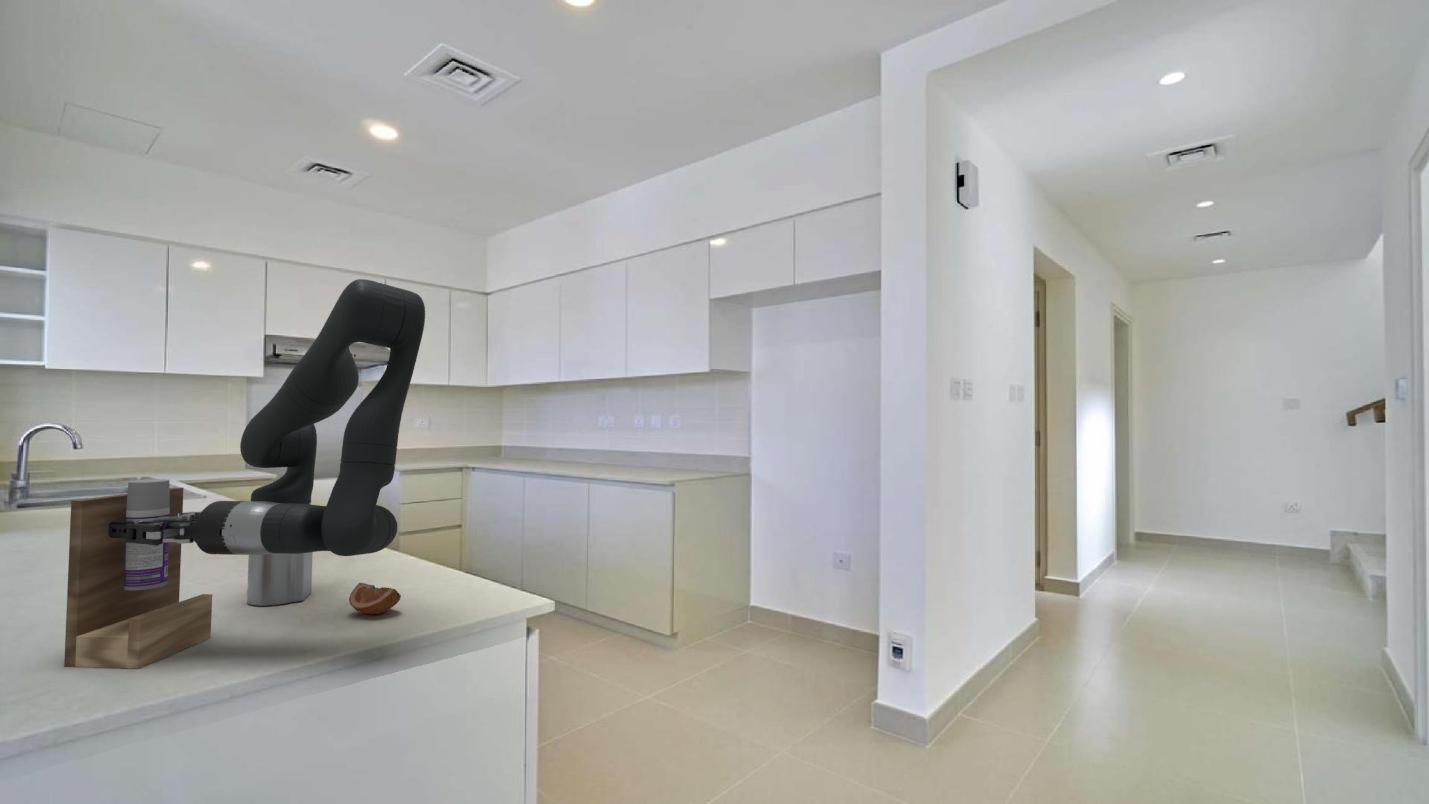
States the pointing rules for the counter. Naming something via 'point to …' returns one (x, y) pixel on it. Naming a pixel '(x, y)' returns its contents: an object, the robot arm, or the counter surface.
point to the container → (143, 560)
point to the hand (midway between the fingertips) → (129, 526)
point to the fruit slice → (373, 599)
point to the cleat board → (123, 596)
